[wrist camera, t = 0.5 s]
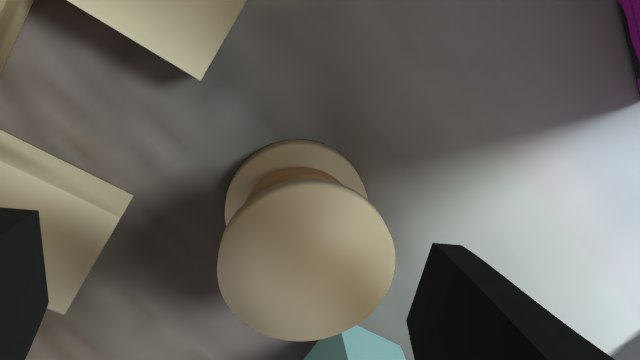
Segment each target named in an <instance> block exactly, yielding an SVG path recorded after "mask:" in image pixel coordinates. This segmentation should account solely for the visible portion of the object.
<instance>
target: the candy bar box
mask: <svg viewBox="0 0 640 360" xmlns="http://www.w3.org/2000/svg"><path fill="white" fill-rule="evenodd" d="M618 1H619V6H620V10H621V14H622V18H623V22H624V26H625V31H626V35H627V39H628V44H629V48H630V52H631V56H632V61H633V65H634V69H635V73H636V77H637V81H638V86H639V90H640V0H618Z"/></svg>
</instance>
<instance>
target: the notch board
mask: <svg viewBox="0 0 640 360" xmlns="http://www.w3.org/2000/svg"><path fill="white" fill-rule="evenodd" d="M33 1H34V0H0V74H1V72H2V70H3V68H4V65H5V63H6V61H7V59H8V57H9V54H10V52H11V50H12V48H13V45H14V43H15V41H16V39H17V37H18V34H19V32H20V30H21V28H22V26H23V23H24V21H25V19H26V17H27V14H28V12H29V10H30V8H31V6H32V3H33ZM67 1H69V2H70V3H72V4H74V5H75V6H77V7H79V8H80V9H82V10H84V11H85V12H87V13H89V14H90V15H92V16H94V17H95V18H97V19H99V20H100V21H102V22H104V23H105V24H107V25H109V26H110V27H112V28H114V29H115V30H117V31H119V32H120V33H122V34H124V35H125V36H127V37H129V38H130V39H132V40H134V41H135V42H137V43H139V44H140V45H142V46H143V47H145V48H147V49H148V50H150V51H152V52H153V53H155V54H157V55H158V56H160V57H162V58H163V59H165V60H167V61H168V62H170V63H172V64H173V65H175V66H177V67H178V68H180V69H182V70H183V71H185V72H187V73H188V74H190V75H192V76H193V77H195V78H197V79H198V80H200V81H201V79H202V77H203V76H204V74H205V72H206V70H207V69H208V67H209V65H210V63H211V62H212V60H213V58H214V57H215V55H216V53H217V51H218V50H219V48H220V46H221V45H222V43H223V41H224V39H225V38H226V36H227V34H228V32H229V31H230V29H231V27H232V26H233V24H234V22H235V20H236V19H237V17H238V15H239V14H240V12H241V10H242V8H243V7H244V5H245V3H246V1H247V0H67ZM132 198H133V195H131V194H129V193H127V192H125V191H123V190H121V189H119V188H117V187H115V186H113V185H111V184H109V183H107V182H105V181H103V180H101V179H99V178H97V177H95V176H93V175H91V174H89V173H87V172H85V171H83V170H81V169H79V168H77V167H75V166H73V165H71V164H69V163H67V162H65V161H62V160H60V159H58V158H56V157H54V156H52V155H50V154H48V153H46V152H44V151H42V150H40V149H38V148H36V147H34V146H32V145H30V144H28V143H26V142H24V141H22V140H20V139H18V138H16V137H14V136H12V135H10V134H8V133H6V132H4V131H2V130H0V207H3V208H15V209H27V210H39V219H40V227H41V236H42V245H43V254H44V263H45V271H46V280H47V289H48V298H49V303H48V306H47V308H48V309H50V310H53V311H55V312H58V313H61V314H63V315H65V313H66V311H67V310H68V308H69V306H70V304H71V303H72V301H73V299H74V298H75V296H76V294H77V292H78V291H79V289H80V287H81V286H82V284H83V282H84V280H85V279H86V277H87V275H88V274H89V272H90V270H91V268H92V267H93V265H94V263H95V261H96V260H97V258H98V256H99V255H100V253H101V251H102V249H103V248H104V246H105V244H106V243H107V241H108V239H109V237H110V236H111V234H112V232H113V230H114V229H115V227H116V225H117V224H118V222H119V220H120V218H121V217H122V215H123V213H124V211H125V210H126V208H127V206H128V205H129V203H130V201H131V199H132Z"/></svg>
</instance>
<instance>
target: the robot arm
mask: <svg viewBox="0 0 640 360" xmlns="http://www.w3.org/2000/svg"><path fill="white" fill-rule="evenodd" d="M48 303H49V298H48V289H47V280H46V271H45V263H44V254H43V245H42V236H41V227H40V219H39V210H27V209H15V208H3V207H0V360H25V358H26V356H27V354H28V352H29V349H30V347H31V345H32V342H33V340H34V338H35V336H36V333H37V331H38V328H39V326H40V323H41V321H42V318H43V316H44V313H45V311H46V308H47V306H48ZM406 321H407V326H408V331H409V335H410V340H411V345H412V350H413V354H414V358H415V360H614V359H613V358H612V357H610V356H609V355H607V354H606V353H605V352H603V351H602V350H600V349H599V348H597V347H596V346H595V345H593V344H592V343H590V342H589V341H588V340H586V339H585V338H583V337H582V336H581V335H579V334H578V333H577V332H575V331H574V330H573V329H571V328H570V327H569V326H567V325H566V324H564V323H563V322H562V321H560V320H559V319H558V318H557V317H555V316H554V315H553V314H551V313H550V312H549V311H547V310H546V309H545V308H543V307H542V306H541V305H540V304H538V303H537V302H536V301H534V300H533V299H532V298H531V297H529V296H528V295H527V294H526V293H524V292H523V291H522V290H520V289H519V288H518V287H517V286H515V285H514V284H513V283H512V282H510V281H509V280H508V279H506V278H505V277H504V276H503V275H501V274H500V273H499V272H497V271H496V270H495V269H494V268H492V267H491V266H490V265H488V264H487V263H486V262H484V261H483V260H482V259H480V258H479V257H478V256H476V255H475V254H474V253H472V252H471V251H469V250H468V249H466V248H465V247H463V246H461V245H450V244H438V243H433V244H432V247H431V250H430V253H429V256H428V259H427V261H426V264H425V267H424V270H423V273H422V276H421V279H420V282H419V285H418V288H417V291H416V294H415V297H414V300H413V303H412V306H411V309H410V312H409V314H408V317H407V320H406Z"/></svg>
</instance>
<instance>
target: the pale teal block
mask: <svg viewBox="0 0 640 360" xmlns="http://www.w3.org/2000/svg"><path fill="white" fill-rule="evenodd" d="M303 360H406V359H405V356H404V354H403V351H402V349H401V346H399V345H397V344H395V343H393V342H391V341H389V340H386V339H384V338H382V337H380V336H378V335H376V334H374V333H372V332H370V331H368V330H365V329H363V328H361V327H359V326H357V325H355V326H354V327H352V328H350V329H348V330H347V331H345V332H342V333H340V334H337V335H335V336H331V337H328V338H325V339H320V340H318V342H317V343H316V344H315V345H314V347H313V348H312V349H311V350H310V352H309V353H308V354H307V356H306V357H305V358H304V359H303Z"/></svg>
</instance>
